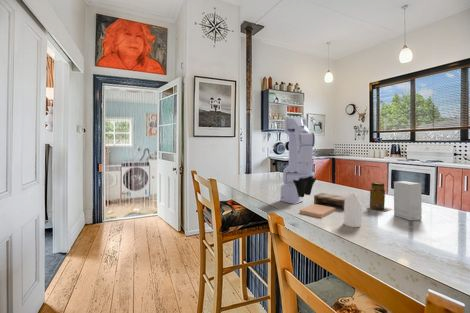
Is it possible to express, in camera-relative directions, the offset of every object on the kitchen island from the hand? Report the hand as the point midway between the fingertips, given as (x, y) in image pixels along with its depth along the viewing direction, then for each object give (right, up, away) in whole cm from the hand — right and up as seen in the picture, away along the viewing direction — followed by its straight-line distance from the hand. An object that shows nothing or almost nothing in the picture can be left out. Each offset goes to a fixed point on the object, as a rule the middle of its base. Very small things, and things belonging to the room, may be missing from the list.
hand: (304, 195), depth 100 cm
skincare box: (+43, -10, +2) cm, 44 cm away
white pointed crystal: (+16, -10, -7) cm, 20 cm away
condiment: (+39, -9, +15) cm, 43 cm away
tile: (+9, -9, +10) cm, 16 cm away
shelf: (+19, -8, +21) cm, 30 cm away
